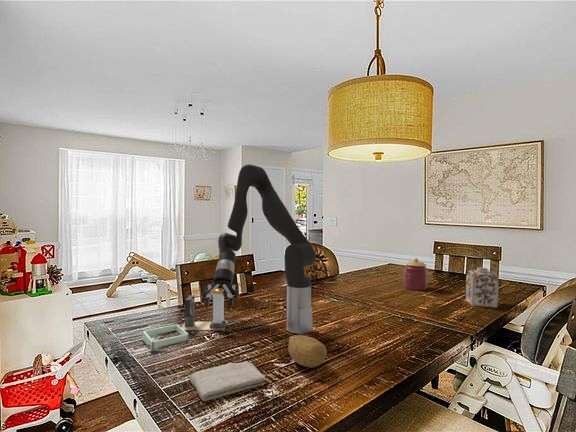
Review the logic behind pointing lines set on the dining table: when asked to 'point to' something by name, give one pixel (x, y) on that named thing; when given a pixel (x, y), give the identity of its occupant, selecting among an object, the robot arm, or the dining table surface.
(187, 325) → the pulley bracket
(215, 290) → the pin
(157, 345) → the tray
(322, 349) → the potato
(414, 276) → the canister
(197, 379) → the washcloth
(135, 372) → the dining table surface
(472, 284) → the decorative jar
